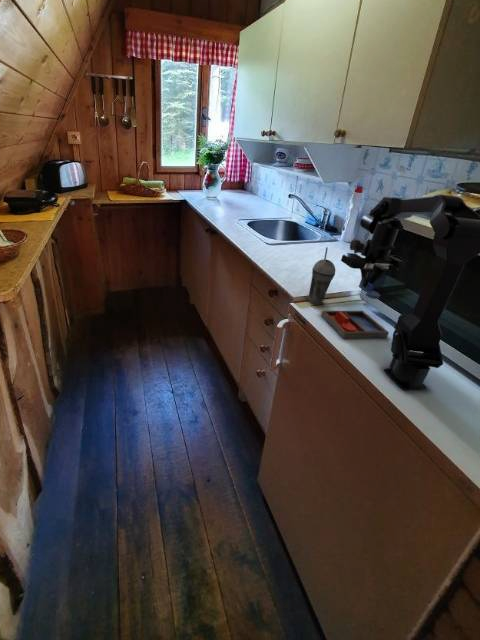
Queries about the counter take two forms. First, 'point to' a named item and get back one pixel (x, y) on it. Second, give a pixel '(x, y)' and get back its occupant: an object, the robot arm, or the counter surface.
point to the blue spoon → (369, 291)
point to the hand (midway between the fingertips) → (365, 286)
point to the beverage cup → (321, 279)
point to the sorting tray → (356, 325)
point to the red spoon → (344, 321)
